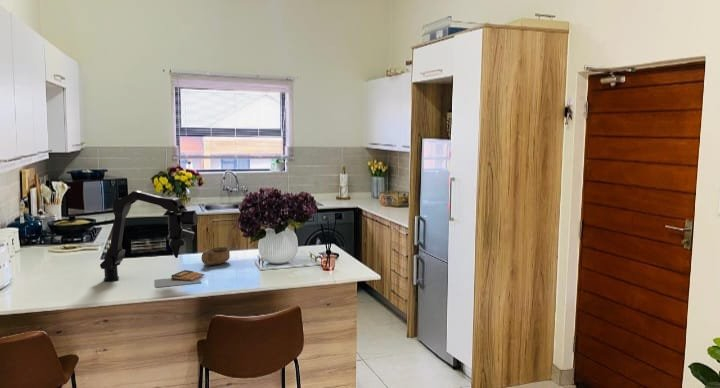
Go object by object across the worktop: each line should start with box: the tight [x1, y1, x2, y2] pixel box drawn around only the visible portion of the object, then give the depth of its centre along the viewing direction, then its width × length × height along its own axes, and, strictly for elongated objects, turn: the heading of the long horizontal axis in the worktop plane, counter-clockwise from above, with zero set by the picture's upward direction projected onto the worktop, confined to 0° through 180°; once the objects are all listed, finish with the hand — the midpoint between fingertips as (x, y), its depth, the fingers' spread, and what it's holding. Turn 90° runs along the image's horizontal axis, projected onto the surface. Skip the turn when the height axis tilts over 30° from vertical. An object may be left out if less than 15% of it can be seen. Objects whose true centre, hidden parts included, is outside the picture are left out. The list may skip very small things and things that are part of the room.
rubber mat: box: [154, 277, 202, 289], centre depth 259 cm, size 14×20×1 cm
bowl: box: [201, 246, 231, 266], centre depth 293 cm, size 18×14×10 cm
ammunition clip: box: [170, 269, 205, 280], centre depth 265 cm, size 11×2×12 cm
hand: (176, 257), depth 259 cm, fingers closed
